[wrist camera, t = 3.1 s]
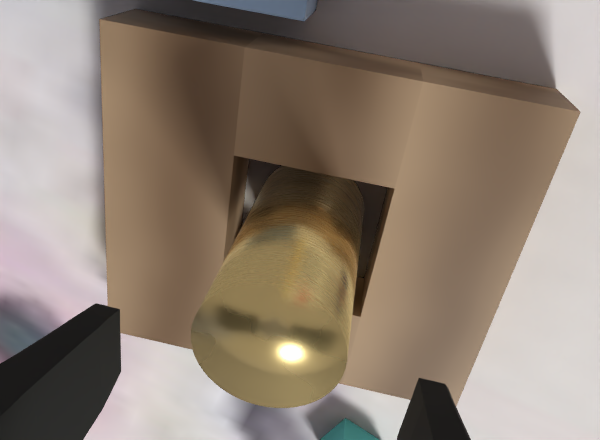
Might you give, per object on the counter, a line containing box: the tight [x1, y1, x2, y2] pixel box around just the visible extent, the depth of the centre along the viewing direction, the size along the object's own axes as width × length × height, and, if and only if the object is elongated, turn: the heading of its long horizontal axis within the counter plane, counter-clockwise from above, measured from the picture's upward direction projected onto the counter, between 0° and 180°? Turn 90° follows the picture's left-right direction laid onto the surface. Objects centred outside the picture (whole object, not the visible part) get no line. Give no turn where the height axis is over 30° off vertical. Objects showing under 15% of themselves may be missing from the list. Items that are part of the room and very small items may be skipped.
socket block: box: [99, 9, 580, 406], centre depth 19 cm, size 14×12×2 cm
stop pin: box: [191, 165, 364, 408], centre depth 17 cm, size 4×4×8 cm
